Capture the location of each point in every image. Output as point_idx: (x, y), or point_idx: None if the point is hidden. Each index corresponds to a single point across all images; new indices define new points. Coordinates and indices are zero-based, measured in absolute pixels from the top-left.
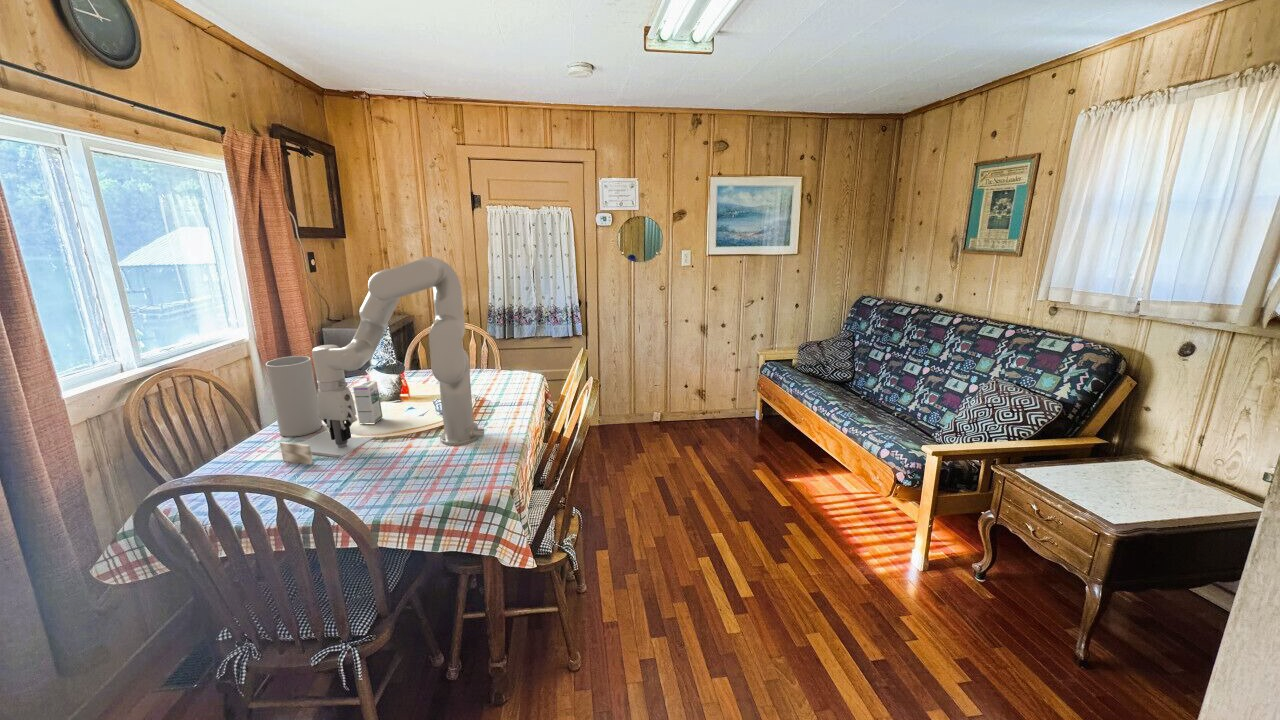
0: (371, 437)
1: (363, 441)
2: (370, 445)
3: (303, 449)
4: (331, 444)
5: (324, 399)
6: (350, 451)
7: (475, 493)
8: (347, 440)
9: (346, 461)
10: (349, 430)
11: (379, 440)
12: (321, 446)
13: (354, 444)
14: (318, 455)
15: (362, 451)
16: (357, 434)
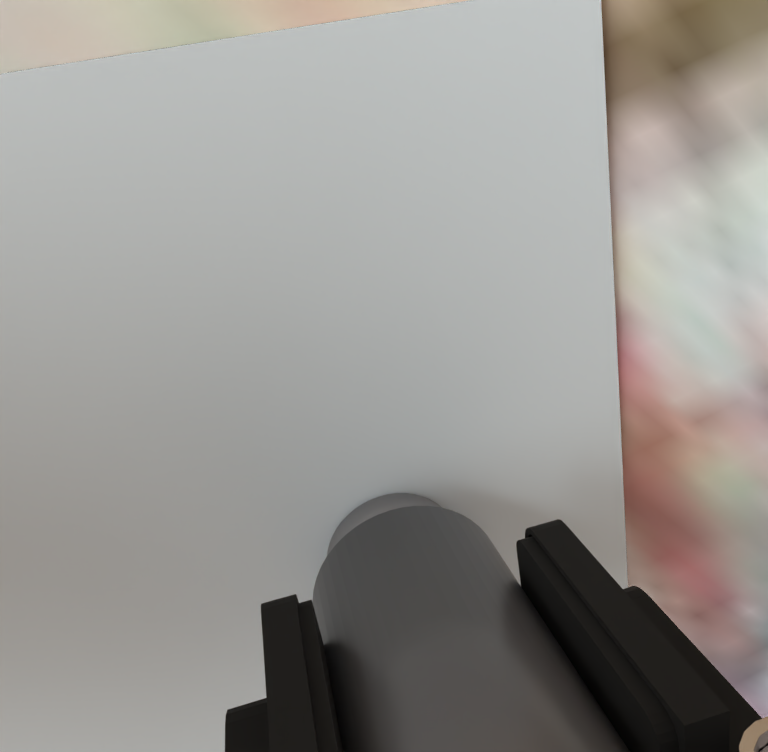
0: (566, 71)
1: (561, 273)
2: (738, 302)
3: None
4: (155, 600)
5: None
6: (623, 567)
7: None
8: (489, 541)
9: (761, 711)
10: (722, 685)
11: (752, 87)
12: (78, 712)
13: (514, 420)
14: None
15: (761, 483)
16: (99, 30)
